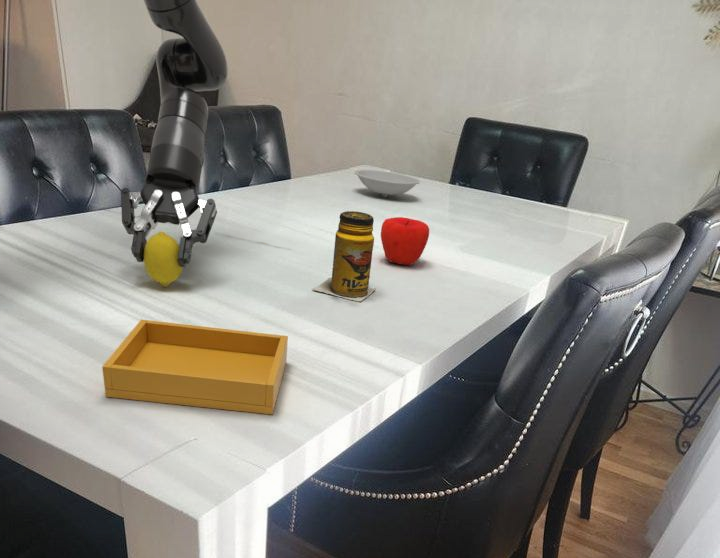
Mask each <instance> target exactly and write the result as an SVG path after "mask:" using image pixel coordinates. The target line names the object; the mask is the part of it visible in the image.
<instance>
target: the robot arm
mask: <svg viewBox="0 0 720 558" xmlns="http://www.w3.org/2000/svg"><path fill="white" fill-rule="evenodd" d="M143 2H144V5H145V7H146V10H147V13H148V15H149V18H150V19H151V21H152V23H153V25H154V26H155V27H157V28H158V29H160V30H162V31H166V32H169V33H172V34H176V35H179V36H181V37H180V38H176V37H175V38H169V39H166V40H164V41H163V42H162V43H161V44H160V45H159V46H158V49H157V50H156V54H155V63H156V68H157V75H158V83H159V95H160V106H159V112H158V117H157V124H156V126H155V127H156V128H155V129H154V133H153V137H152V141H151V148H150V154H149V160H148V166H147V171H146V175H145V176H146V177H145V184H144V185H143V187H142V188H141V189H140V191H130V189H129V188H127V187H123V188H121V190H120V201H121V204H120V205H121V206H120V207H121V208H120V209H121V224H122V225H123V228H124V229H125V231H126V233H127V234H128V235H133V236H132V243H131V247H130V250H131V253H132V255H133V257H134V258H135V260H136V261H137V262H138V263H144V248H145V245H146V242H147V241H148V239H147V237H148V235H149V234H150V233H151V232H152V230H155V228H157V226H158V224H159V223H160V224H167V223H170V224H172V225H177V226H179V225H180V228H181V231H182V236H180V241H179V253H178V264H179V266H180V267H182V268H186V265H189V264H190V263H191V260H192V255H193V254H192V253H193V247H194V245H195V244H196V243H197V244H198V243H200V244H205V243H207V242H208V239H209V236H210V233H211V231H212V228H213V226H214V222H215V220H216V218H217V214H218V210H217V205H216V201H215V200H214V199H213V198H208V199H207V200H205V199H201V198H199V189H200V184H201V183H200V182H201V178H202V177H201V176H202V169H203V166H204V161H205V159H204V158H205V141H206V140H205V139H206V134H207V133H206V132H207V126H208V120H209V107H208V104H207V101H206V100H205V98H204V97H203V96H202V95H201V94H200V93H199V92H212V91H214V92H215V91H218V90H220V89H222V87H223V86H224V85H225V83H226V81H227V78H228V74H229V73H228V70H229V69H228V61H227V57H226V54H225V52H224V49H223V46H222V44H221V43H220V40H219V39H218V37H217V36H216V34H215V32H214V31H213V29H212V27H211V26H210V24H209V22H208V21H207V19H206V16H205V15H204V13H203V11H202V9H201V7H200V6H199V4H198V2H197V0H143ZM140 202H143V204H144V205H145V206H144V207H143V208H142V210H141V212H140V215H139V217H138V219H137V221H135V219H136V218H135V210H136V209H138V207H139V204H140ZM198 209H199V211H200V218H199V220H198V224H197V226H196V229H191V225H190V222H189V218H190V217H191V216H192V215H193V214H194V213H195V212H196V211H197V210H198Z"/></svg>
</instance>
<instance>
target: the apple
mask: <svg viewBox="0 0 720 558" xmlns="http://www.w3.org/2000/svg"><path fill="white" fill-rule="evenodd" d="M429 237H430V227H429V226H428V224H427V223H425V222H423V221H421V220H419V219H414V218H409V217H403V216H398V217H391V218H385V219H384V220H383V222H382V224H381V229H380V241H381V244H382V245H381V246H382V249H383V252H384V253H383V254H384V256H385V258H386V260H388V262H391V263H393V264H397V265H403V266H410V265H412V264H415V263H416V262H417V261H418V260H419V259H421V256H422V255H423V253H424V251H425V248H426V246H427V244H428V240H429Z"/></svg>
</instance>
